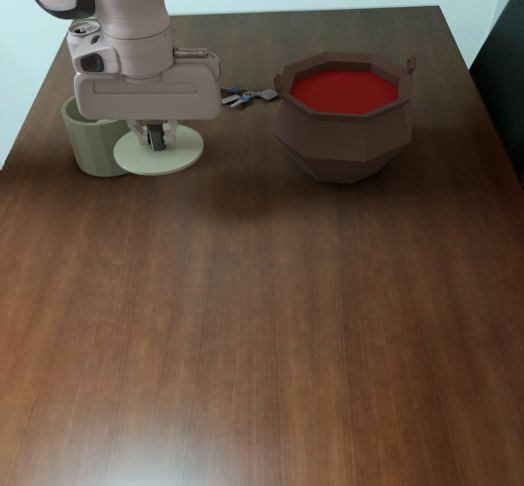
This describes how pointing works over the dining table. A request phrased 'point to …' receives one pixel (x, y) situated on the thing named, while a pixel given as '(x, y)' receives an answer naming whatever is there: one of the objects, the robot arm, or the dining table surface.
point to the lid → (158, 150)
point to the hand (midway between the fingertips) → (157, 143)
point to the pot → (94, 140)
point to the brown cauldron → (344, 113)
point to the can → (80, 33)
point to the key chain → (265, 94)
